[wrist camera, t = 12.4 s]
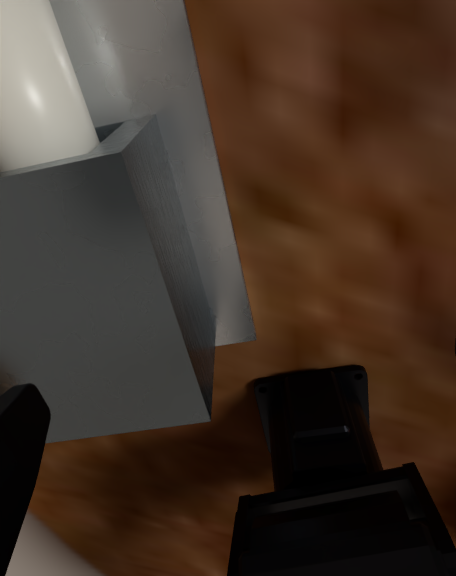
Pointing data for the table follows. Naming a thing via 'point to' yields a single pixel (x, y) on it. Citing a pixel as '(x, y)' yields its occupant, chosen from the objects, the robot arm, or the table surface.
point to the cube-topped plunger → (38, 90)
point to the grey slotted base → (123, 237)
